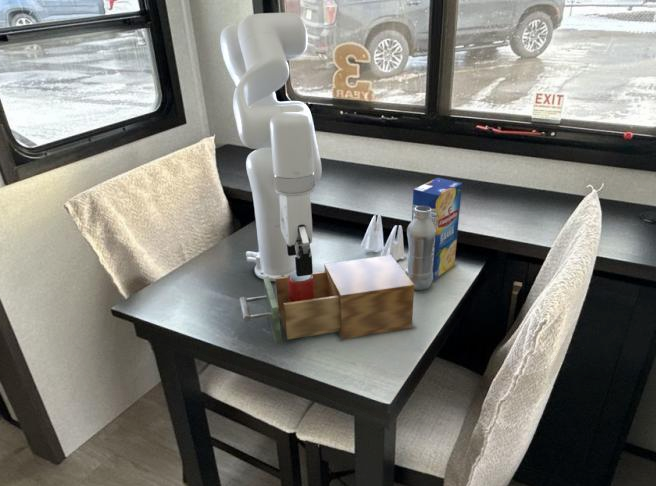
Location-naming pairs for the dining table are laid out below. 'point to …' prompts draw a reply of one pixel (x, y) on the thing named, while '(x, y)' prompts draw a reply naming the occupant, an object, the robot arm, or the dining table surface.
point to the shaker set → (375, 240)
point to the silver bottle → (420, 248)
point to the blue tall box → (441, 219)
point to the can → (300, 287)
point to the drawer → (299, 308)
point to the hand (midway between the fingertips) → (299, 264)
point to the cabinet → (372, 295)
